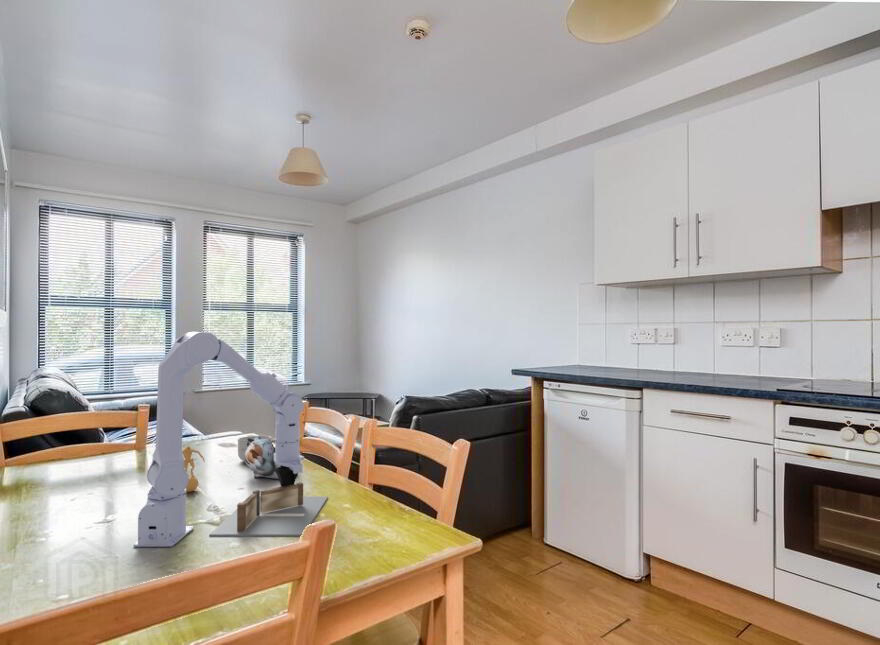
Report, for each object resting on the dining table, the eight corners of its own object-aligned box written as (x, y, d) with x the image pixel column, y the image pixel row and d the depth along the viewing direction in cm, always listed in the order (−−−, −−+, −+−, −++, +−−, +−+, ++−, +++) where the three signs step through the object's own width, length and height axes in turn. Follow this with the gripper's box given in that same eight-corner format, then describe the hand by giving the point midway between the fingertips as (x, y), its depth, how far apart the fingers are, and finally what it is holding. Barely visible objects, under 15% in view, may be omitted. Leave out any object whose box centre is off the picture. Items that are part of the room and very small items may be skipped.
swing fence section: (261, 513, 118) (261, 491, 118) (260, 511, 119) (260, 489, 119) (303, 504, 124) (303, 483, 124) (301, 503, 125) (301, 482, 125)
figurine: (175, 496, 132) (176, 450, 132) (168, 491, 136) (169, 447, 136) (208, 489, 138) (209, 445, 138) (201, 484, 142) (201, 442, 142)
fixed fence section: (244, 531, 109) (244, 504, 109) (236, 531, 108) (236, 504, 109) (260, 513, 119) (260, 489, 119) (253, 513, 119) (254, 489, 119)
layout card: (303, 536, 107) (303, 533, 107) (209, 536, 107) (209, 533, 107) (327, 498, 131) (327, 496, 131) (250, 498, 131) (250, 496, 131)
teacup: (230, 464, 164) (230, 439, 164) (251, 455, 174) (251, 432, 174) (266, 467, 160) (266, 442, 160) (286, 459, 170) (286, 435, 170)
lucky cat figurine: (298, 479, 147) (278, 441, 142) (258, 498, 144) (236, 460, 139) (295, 453, 160) (277, 417, 155) (259, 470, 158) (239, 434, 153)
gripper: (314, 443, 120) (314, 500, 120) (292, 433, 132) (292, 485, 132) (285, 448, 116) (285, 507, 116) (265, 437, 128) (265, 490, 128)
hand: (287, 496), depth 124 cm, fingers closed
